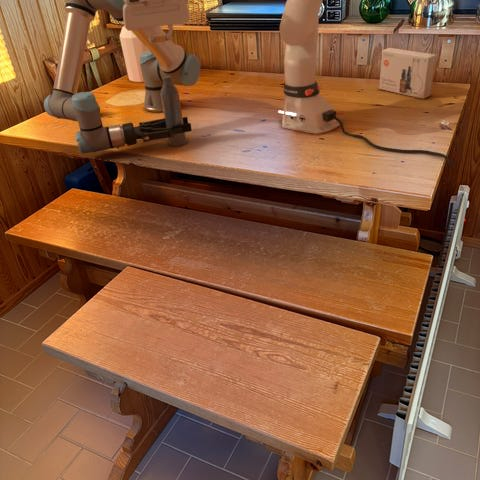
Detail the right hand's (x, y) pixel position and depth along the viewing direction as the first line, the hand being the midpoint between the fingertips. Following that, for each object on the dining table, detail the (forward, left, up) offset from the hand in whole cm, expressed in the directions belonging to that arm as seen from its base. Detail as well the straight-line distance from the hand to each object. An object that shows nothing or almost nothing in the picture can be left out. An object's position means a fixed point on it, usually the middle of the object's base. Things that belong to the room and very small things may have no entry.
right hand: (160, 41), depth 146 cm
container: (+87, -43, -34) cm, 102 cm away
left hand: (-2, -4, -28) cm, 28 cm away
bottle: (0, 0, -34) cm, 34 cm away
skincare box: (-35, -89, -34) cm, 101 cm away
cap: (0, 0, +1) cm, 1 cm away
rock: (+57, +7, -34) cm, 66 cm away
